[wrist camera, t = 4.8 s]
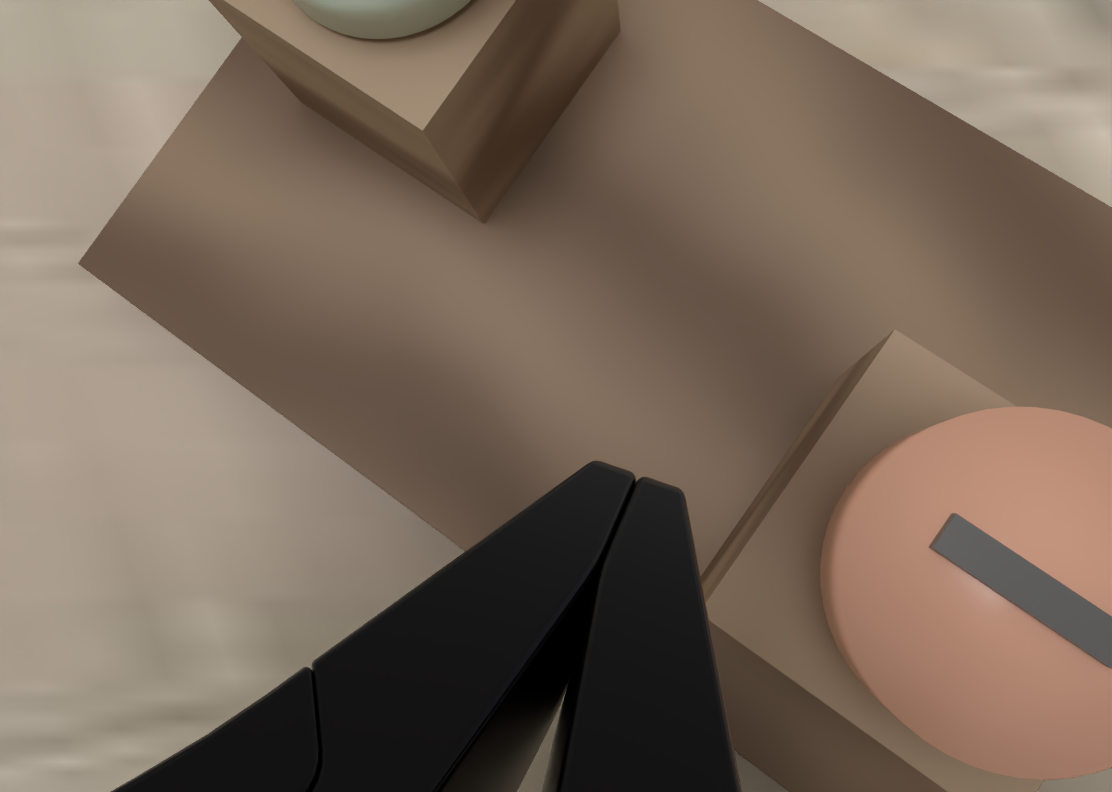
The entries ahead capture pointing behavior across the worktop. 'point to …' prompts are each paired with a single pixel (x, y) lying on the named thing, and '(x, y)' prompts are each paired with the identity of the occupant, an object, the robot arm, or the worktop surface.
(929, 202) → the console
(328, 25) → the button
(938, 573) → the button
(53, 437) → the worktop surface
